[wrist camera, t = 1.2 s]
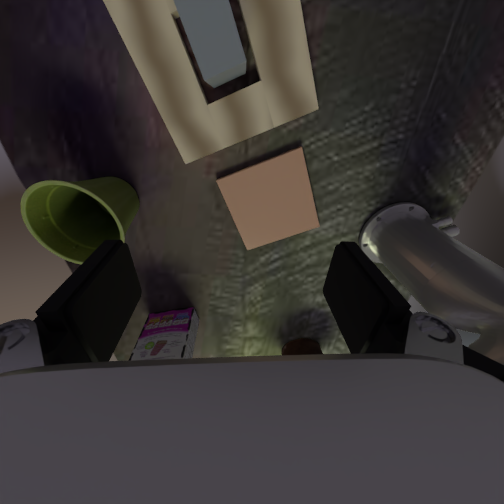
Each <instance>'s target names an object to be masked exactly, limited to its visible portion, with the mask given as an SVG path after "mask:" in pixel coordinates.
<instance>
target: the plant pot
mask: <svg viewBox="0 0 504 504" xmlns="http://www.w3.org/2000/svg"><path fill="white" fill-rule="evenodd" d="M99 202H100V203H99ZM138 209H139V199H138V196H137V193H136V191H135V190H134V189H133V188H132V187H131V186H130V185H129V184H128V183H127V182H125V181H124V180H122V179H120V178H117V177H101V178H96V179H90V180H83V181H78V182H66V181H60V180H46V181H41V182H38V183H35V184H33V185H31V186H30V187H29V188H28V189H27V190H26V191H25V192H24V194H23V196H22V199H21V214H22V218H23V220H24V222H25V225H26V226H27V228H28V230H29V231H30V233H31V234H32V235H33V236H34V237H35V238H36V240H37V241H38V242H39V243H40V244H41V245H43V246H44V247H45V248H46V249H48V250H49V251H51V252H52V253H54V254H55V255H57V256H59V257H61V258H63V259H65V260H67V261H70V262H73V263H77V264H82V263H83V262H84V261H85V260H86V259H87V258H88V257H89V256H90V255H91V254H92V253H93V252H94V251H95V250H96V249H97V248H98V247H99V246H100V245H101V244H102V243H103V242H104V241H105V240H122V241H123V243H124V242H125V235H126V231H127V229H128V228H129V226H130V224H131V222H132V220H133V219H134V217H135V215H136V213H137V211H138Z"/></svg>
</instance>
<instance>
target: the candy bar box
mask: <svg viewBox="0 0 504 504" xmlns="http://www.w3.org/2000/svg"><path fill="white" fill-rule="evenodd" d="M198 325H199V318H198V316H197V314H196V311H195V309H194V307H191V308H184V309H178V310H172V311H165V312H159V313H152V314H149V315H148V318H147V320H146V322H145V325H144V327H143V329H142V331H141V334H140V336H139V338H138V340H137V343H136V345H135V348H134V350H133V352H132V354H131V356H130V359H129V361H133V360H160V359H187V358H192V356H193V351H194V346H195V340H196V335H197V330H198Z"/></svg>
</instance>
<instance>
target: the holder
mask: <svg viewBox="0 0 504 504" xmlns="http://www.w3.org/2000/svg"><path fill="white" fill-rule="evenodd" d="M103 1H104V3H105V5H106V7H107V9H108V11H109V13H110V15H111V17H112V19H113V21H114V23H115V25H116V27H117V29H118V31H119V33H120V35H121V37H122V39H123V41H124V43H125V45H126V47H127V49H128V51H129V53H130V55H131V57H132V59H133V61H134V63H135V65H136V67H137V69H138V71H139V73H140V75H141V77H142V79H143V81H144V83H145V85H146V87H147V89H148V91H149V93H150V95H151V97H152V99H153V101H154V103H155V105H156V106H157V108H158V110H159V112H160V114H161V116H162V118H163V120H164V122H165V124H166V126H167V128H168V130H169V132H170V134H171V136H172V138H173V140H174V142H175V144H176V146H177V148H178V150H179V152H180V154H181V156H182V158H183V160H184V162H185V164H187V163H190V162H192V161H194V160H197V159H199V158H202V157H204V156H207V155H209V154H211V153H214V152H216V151H219V150H221V149H223V148H226V147H228V146H231V145H233V144H236V143H238V142H240V141H243V140H245V139H248V138H250V137H252V136H255V135H257V134H260V133H262V132H264V131H267V130H269V129H272V128H274V127H277V126H279V125H281V124H284V123H286V122H289V121H291V120H293V119H296V118H298V117H301V116H303V115H305V114H308V113H310V112H313V111H315V110H318V109H319V108H318V102H317V96H316V91H315V85H314V79H313V73H312V67H311V61H310V55H309V49H308V43H307V37H306V32H305V26H304V20H303V14H302V8H301V2H300V0H238V3H239V7H240V10H241V14H242V18H243V21H244V25H245V29H246V32H247V36H248V40H249V43H250V47H251V50H252V54H253V58H254V61H255V65H256V69H257V72H258V76H259V79H260V81H259V82H257V83H255V84H252V85H250V86H248V87H246V88H244V89H241V90H239V91H237V92H235V93H233V94H230V95H228V96H226V97H224V98H222V99H219V100H217V101H215V102H213V103H211V104H208V101H207V99H206V96H205V94H204V91H203V88H202V86H201V83H200V81H199V78H198V76H197V73H196V71H195V68H194V66H193V63H192V61H191V58H190V55H189V53H188V50H187V48H186V45H185V43H184V40H183V38H182V35H181V33H180V30H179V28H178V25H177V22H176V20H175V19H177V18H179V17H180V16H179V13H178V11H177V8H176V6H175V3H174V0H103Z"/></svg>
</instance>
